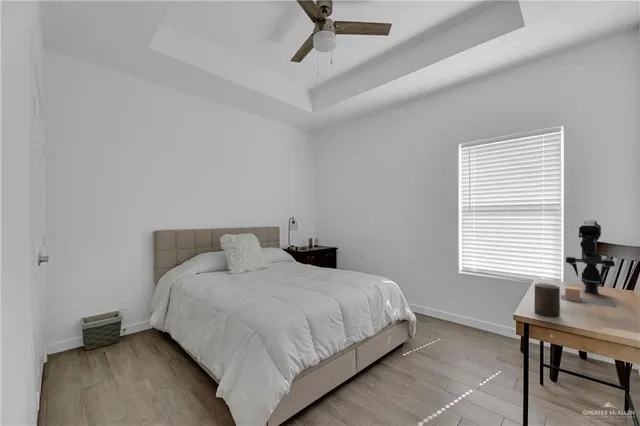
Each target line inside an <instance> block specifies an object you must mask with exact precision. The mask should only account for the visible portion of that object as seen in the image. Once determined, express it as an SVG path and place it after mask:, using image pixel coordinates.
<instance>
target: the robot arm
mask: <svg viewBox="0 0 640 426" xmlns="http://www.w3.org/2000/svg"><path fill="white" fill-rule="evenodd" d="M601 235H602V226H601V225H600V224H598V221H597V220H593V219H592V220H589V219H588V220H584V223H583V224H581V225H580V226H579V227H578V238H581V241H580V244H579V245H580V247H581V258H576V257H575V256H566V257H565V263H567V264H569V265H571V266H572V267H573V269H574V272H575V275H576V277H579V271H578V265H577V263H583V264H585V265H586V266H585V267H584V268H583V270H582V271H581V283H584V290H583V293H584V294H585V293H586V294H590V295H591V294H593V295H600V292H599V285H603V284H604V281H603V280H604V277H603V276H604V275H605V272H606V271H607V270H608V269H610V268H612V267H615V261H614V260H613V259H608V258H603V257H602V254H597V242H598V240H599V239H600V237H601ZM597 265H601V267H600V270H599V269H598V267H597Z"/></svg>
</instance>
